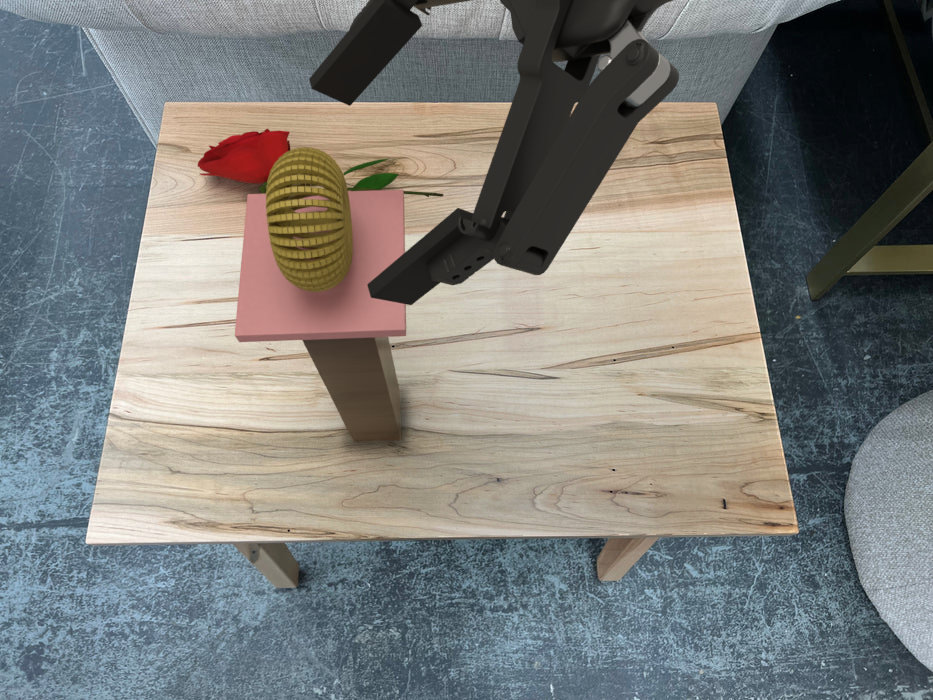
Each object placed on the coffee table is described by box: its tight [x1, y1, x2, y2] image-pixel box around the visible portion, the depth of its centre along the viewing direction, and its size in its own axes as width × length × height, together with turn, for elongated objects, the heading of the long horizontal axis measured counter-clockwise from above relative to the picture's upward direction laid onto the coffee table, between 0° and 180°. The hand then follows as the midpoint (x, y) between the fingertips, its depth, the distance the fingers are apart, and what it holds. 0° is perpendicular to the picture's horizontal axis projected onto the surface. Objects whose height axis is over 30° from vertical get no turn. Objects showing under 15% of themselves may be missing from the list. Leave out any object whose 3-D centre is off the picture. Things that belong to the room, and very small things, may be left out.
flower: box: [197, 128, 444, 198], centre depth 80 cm, size 9×10×30 cm
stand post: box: [301, 337, 402, 443], centre depth 58 cm, size 5×5×32 cm
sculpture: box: [265, 146, 353, 292], centre depth 39 cm, size 8×4×8 cm, turn 5°
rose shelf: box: [234, 189, 407, 343], centre depth 43 cm, size 10×10×1 cm
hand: (357, 187), depth 37 cm, fingers open, 13 cm apart
